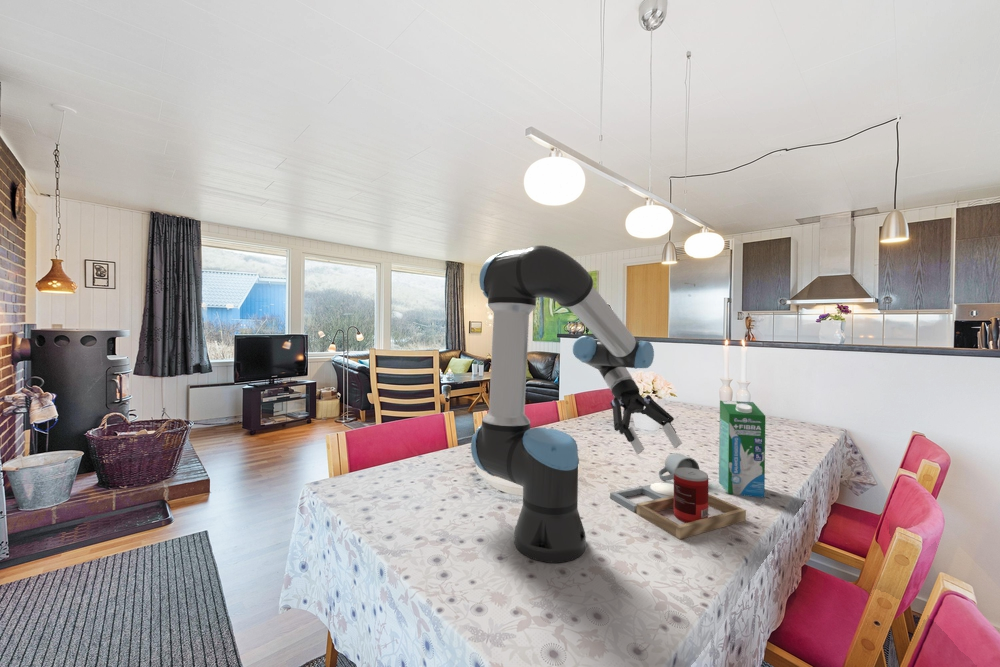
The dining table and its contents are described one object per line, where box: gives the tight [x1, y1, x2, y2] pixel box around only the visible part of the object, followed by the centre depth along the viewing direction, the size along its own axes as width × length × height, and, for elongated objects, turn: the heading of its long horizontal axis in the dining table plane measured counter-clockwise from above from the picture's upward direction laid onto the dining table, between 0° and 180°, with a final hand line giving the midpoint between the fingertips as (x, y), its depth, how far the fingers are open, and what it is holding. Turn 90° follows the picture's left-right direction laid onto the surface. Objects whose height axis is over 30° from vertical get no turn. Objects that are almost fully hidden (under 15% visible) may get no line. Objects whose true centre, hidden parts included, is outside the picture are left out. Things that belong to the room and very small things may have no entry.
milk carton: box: [718, 400, 766, 498], centre depth 114 cm, size 9×9×25 cm
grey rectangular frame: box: [609, 480, 674, 513], centre depth 108 cm, size 22×9×2 cm, turn 114°
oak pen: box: [636, 493, 747, 540], centre depth 97 cm, size 22×13×2 cm, turn 114°
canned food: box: [673, 467, 709, 523], centre depth 97 cm, size 8×8×11 cm
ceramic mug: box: [657, 452, 701, 482], centre depth 122 cm, size 11×8×8 cm
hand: (660, 448), depth 106 cm, fingers open, 13 cm apart
